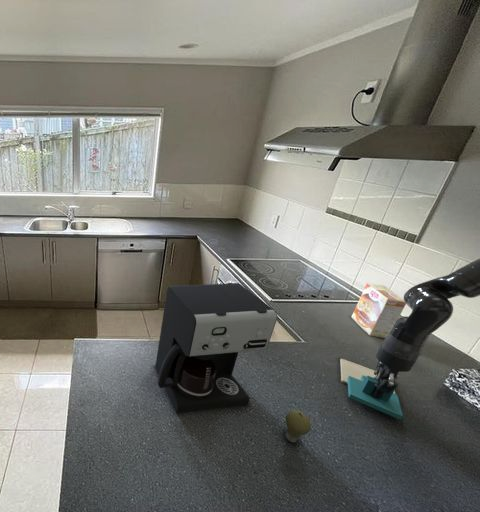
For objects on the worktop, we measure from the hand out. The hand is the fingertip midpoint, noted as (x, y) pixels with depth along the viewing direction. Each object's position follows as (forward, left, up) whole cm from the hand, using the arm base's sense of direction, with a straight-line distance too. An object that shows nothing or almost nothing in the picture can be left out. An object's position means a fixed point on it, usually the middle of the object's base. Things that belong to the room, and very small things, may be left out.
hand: (374, 393), depth 89 cm
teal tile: (0, -2, -2) cm, 3 cm away
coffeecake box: (-4, -56, -5) cm, 57 cm away
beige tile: (0, -12, -5) cm, 13 cm away
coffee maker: (+47, +31, -5) cm, 56 cm away
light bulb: (+19, +31, -5) cm, 36 cm away
